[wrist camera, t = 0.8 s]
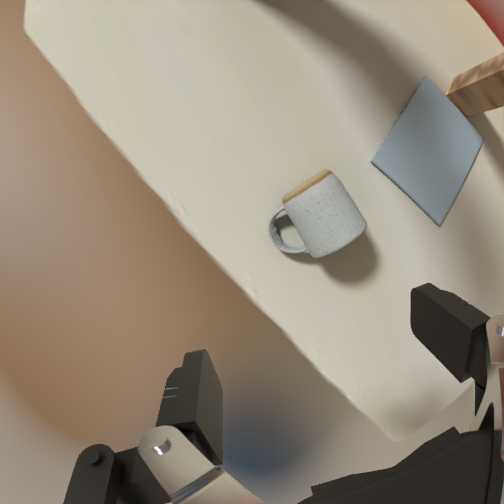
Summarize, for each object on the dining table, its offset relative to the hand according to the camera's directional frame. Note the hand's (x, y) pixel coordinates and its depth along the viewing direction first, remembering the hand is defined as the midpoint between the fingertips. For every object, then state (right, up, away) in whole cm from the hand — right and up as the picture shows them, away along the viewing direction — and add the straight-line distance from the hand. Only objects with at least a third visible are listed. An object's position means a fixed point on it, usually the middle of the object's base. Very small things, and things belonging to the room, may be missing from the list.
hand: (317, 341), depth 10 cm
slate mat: (+24, +18, +24) cm, 39 cm away
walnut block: (+31, +28, +22) cm, 47 cm away
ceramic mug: (+5, +7, +27) cm, 28 cm away
